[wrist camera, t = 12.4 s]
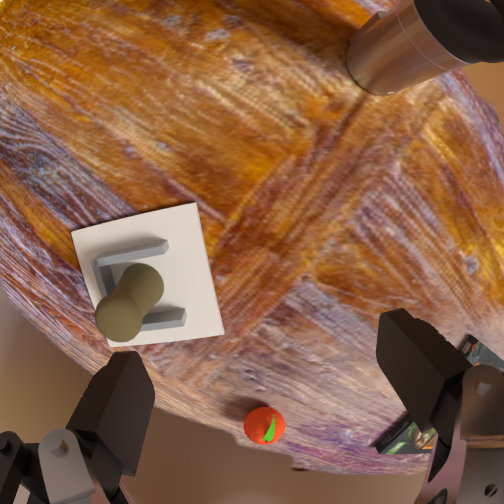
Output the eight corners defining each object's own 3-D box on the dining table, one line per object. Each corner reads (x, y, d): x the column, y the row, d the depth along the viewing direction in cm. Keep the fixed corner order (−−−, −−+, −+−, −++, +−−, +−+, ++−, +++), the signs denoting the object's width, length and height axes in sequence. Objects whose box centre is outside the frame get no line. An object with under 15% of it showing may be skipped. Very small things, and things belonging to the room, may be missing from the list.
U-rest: (74, 230, 33) (59, 236, 29) (196, 201, 33) (192, 205, 29) (112, 343, 38) (103, 358, 34) (224, 330, 38) (224, 346, 34)
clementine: (250, 392, 42) (253, 423, 35) (289, 397, 43) (297, 426, 36) (238, 421, 44) (240, 450, 37) (274, 425, 44) (280, 453, 38)
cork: (160, 311, 36) (138, 359, 25) (119, 298, 35) (85, 340, 24) (168, 270, 34) (144, 309, 24) (125, 257, 33) (87, 289, 23)
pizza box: (505, 362, 51) (511, 368, 48) (435, 445, 58) (440, 452, 55) (469, 333, 45) (478, 340, 41) (374, 444, 51) (378, 453, 48)
